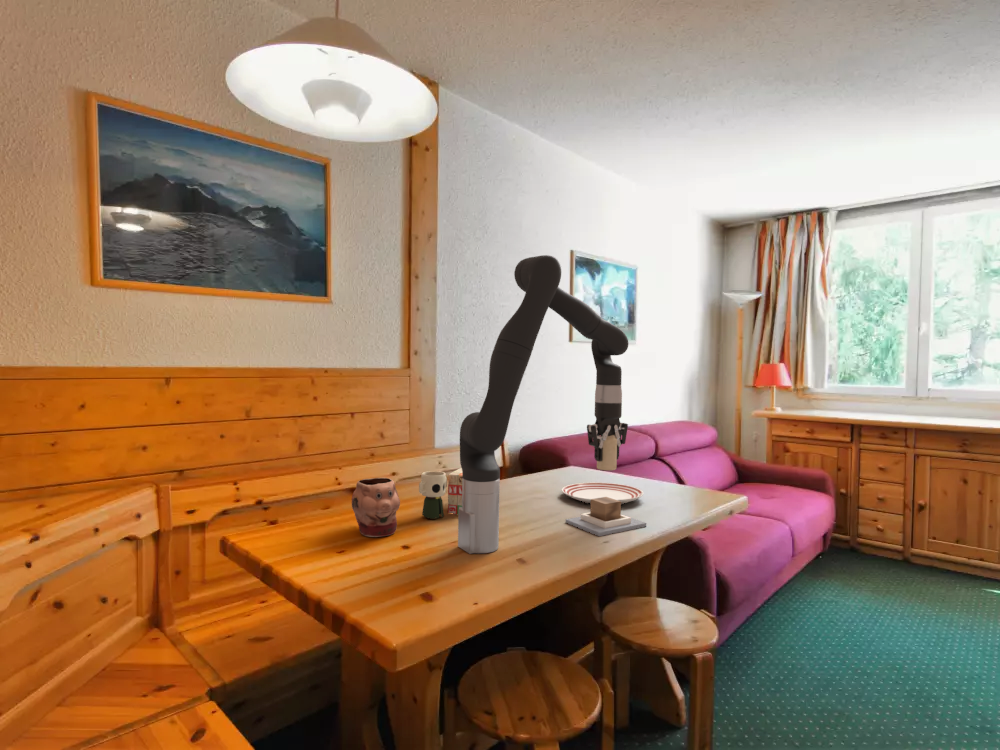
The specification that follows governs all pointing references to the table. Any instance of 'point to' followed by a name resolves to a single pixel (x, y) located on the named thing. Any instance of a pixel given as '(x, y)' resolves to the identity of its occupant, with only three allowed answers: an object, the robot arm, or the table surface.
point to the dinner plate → (602, 491)
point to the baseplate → (604, 524)
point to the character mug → (433, 493)
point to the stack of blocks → (455, 491)
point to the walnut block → (605, 509)
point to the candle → (608, 454)
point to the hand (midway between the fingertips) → (606, 459)
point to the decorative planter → (376, 506)
